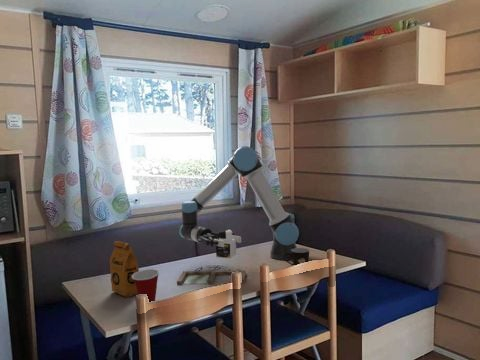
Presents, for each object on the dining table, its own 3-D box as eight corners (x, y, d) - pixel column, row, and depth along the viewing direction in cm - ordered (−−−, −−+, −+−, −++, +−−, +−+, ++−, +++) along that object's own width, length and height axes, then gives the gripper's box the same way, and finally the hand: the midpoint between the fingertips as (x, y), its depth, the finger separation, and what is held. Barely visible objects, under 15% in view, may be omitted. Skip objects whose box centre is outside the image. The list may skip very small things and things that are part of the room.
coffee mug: (311, 268, 201) (311, 248, 200) (307, 274, 193) (306, 253, 192) (288, 266, 206) (288, 246, 205) (283, 271, 198) (282, 251, 197)
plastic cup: (127, 303, 166) (125, 274, 165) (150, 295, 174) (148, 267, 173) (143, 309, 159) (141, 279, 157) (166, 301, 166) (164, 272, 165)
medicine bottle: (216, 257, 188) (214, 231, 187) (222, 253, 195) (221, 228, 194) (230, 258, 186) (229, 232, 185) (236, 254, 192) (235, 228, 191)
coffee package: (122, 299, 170) (119, 247, 168) (109, 292, 179) (105, 242, 177) (144, 293, 177) (141, 242, 175) (129, 286, 186) (126, 238, 184)
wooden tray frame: (245, 273, 198) (245, 270, 198) (244, 283, 184) (244, 280, 184) (183, 274, 200) (183, 271, 200) (177, 284, 186) (176, 281, 185)
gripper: (219, 238, 211) (250, 245, 194) (183, 247, 196) (213, 255, 179) (219, 223, 210) (249, 229, 193) (183, 231, 195) (212, 238, 179)
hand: (232, 241), depth 186 cm, fingers closed on medicine bottle, 9 cm apart
